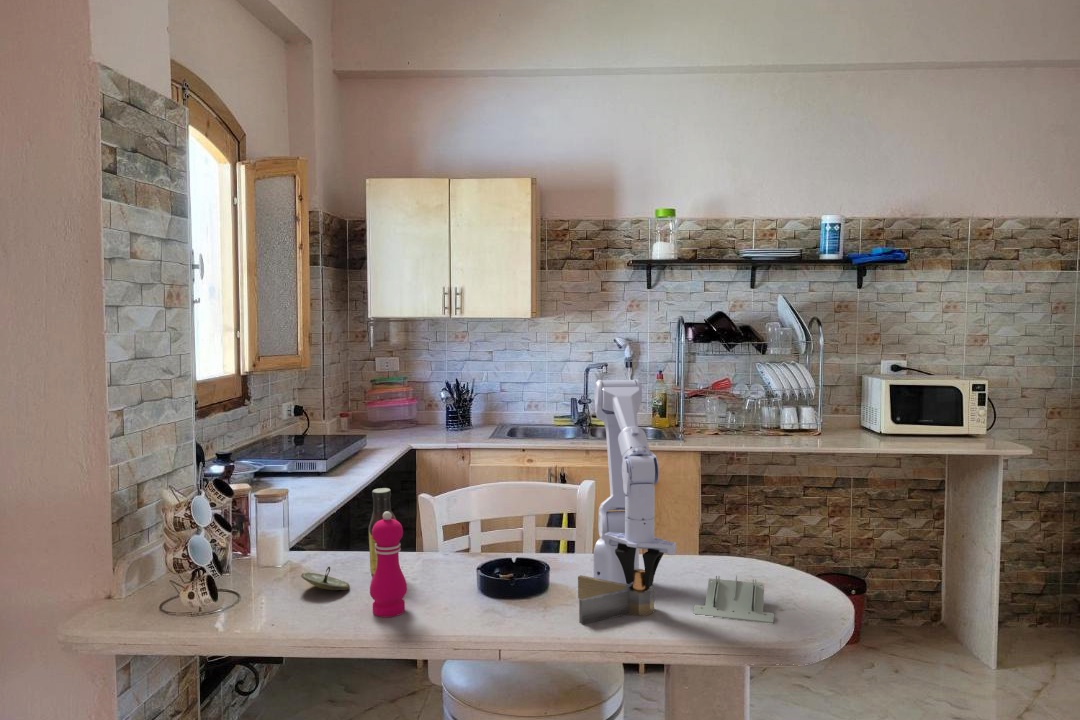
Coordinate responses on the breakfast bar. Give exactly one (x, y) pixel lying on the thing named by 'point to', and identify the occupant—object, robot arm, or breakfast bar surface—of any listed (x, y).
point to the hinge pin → (639, 580)
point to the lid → (325, 581)
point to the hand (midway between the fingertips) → (639, 584)
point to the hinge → (611, 599)
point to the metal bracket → (735, 601)
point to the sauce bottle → (380, 506)
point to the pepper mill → (388, 569)
